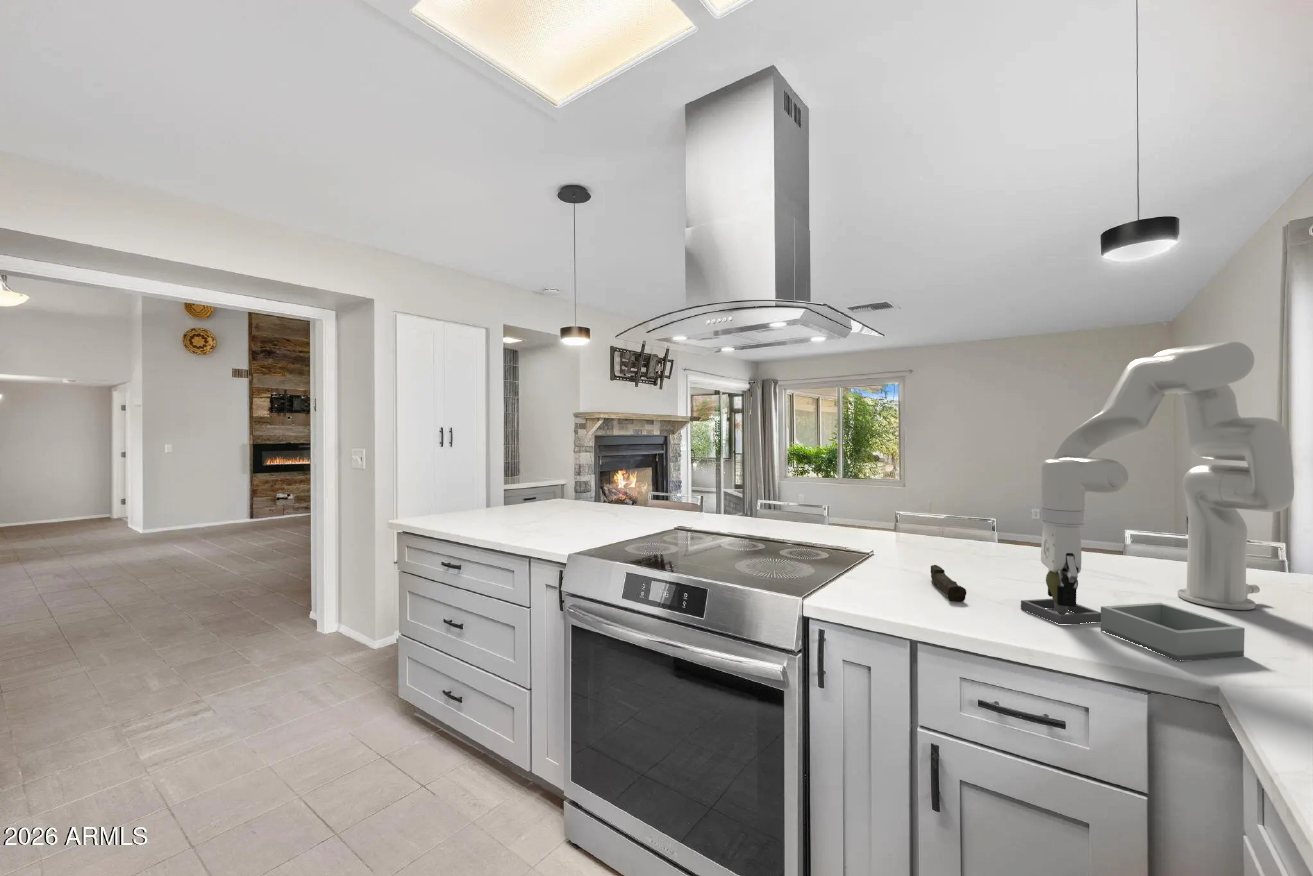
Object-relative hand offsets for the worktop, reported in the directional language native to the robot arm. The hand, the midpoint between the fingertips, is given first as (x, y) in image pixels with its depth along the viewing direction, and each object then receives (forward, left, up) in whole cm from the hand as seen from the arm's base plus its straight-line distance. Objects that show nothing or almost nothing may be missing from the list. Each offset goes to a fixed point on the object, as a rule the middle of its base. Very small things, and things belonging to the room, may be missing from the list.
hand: (1061, 600), depth 118 cm
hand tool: (+13, -21, -4) cm, 25 cm away
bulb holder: (0, 0, -3) cm, 3 cm away
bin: (-7, +16, -3) cm, 18 cm away
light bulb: (0, 0, -3) cm, 3 cm away
